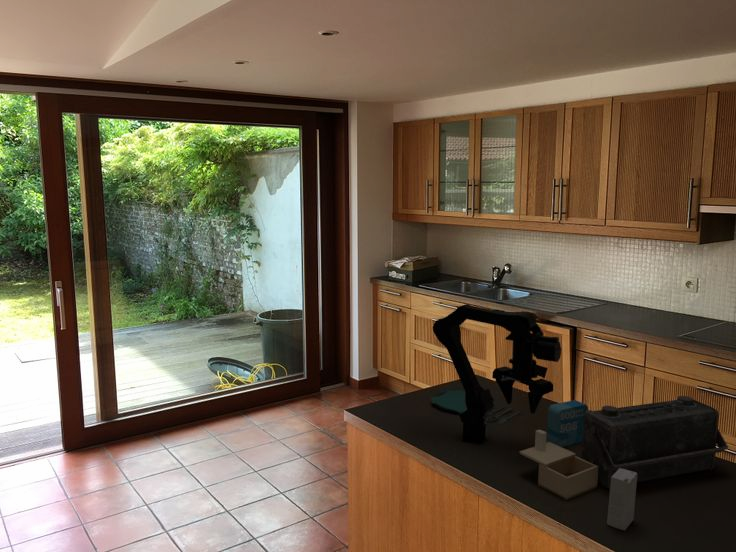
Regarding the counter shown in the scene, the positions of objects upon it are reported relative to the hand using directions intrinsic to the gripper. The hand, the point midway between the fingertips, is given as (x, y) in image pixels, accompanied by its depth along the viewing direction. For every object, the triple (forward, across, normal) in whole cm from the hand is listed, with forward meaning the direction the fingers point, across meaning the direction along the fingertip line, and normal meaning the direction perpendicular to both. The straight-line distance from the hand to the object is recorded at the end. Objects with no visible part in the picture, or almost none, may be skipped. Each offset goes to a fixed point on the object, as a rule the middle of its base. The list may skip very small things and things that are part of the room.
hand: (520, 408), depth 178 cm
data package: (+13, -3, -17) cm, 22 cm away
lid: (+7, -15, +5) cm, 17 cm away
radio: (+14, -29, -20) cm, 38 cm away
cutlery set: (+14, +33, -11) cm, 38 cm away
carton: (+13, -22, +5) cm, 26 cm away
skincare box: (+14, -40, +9) cm, 43 cm away
